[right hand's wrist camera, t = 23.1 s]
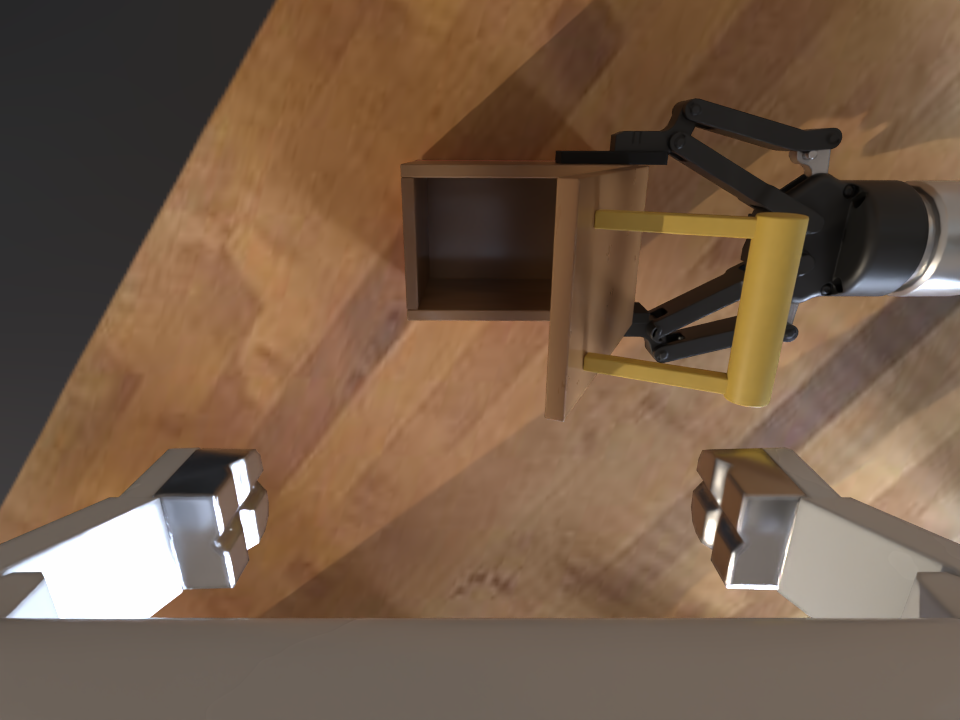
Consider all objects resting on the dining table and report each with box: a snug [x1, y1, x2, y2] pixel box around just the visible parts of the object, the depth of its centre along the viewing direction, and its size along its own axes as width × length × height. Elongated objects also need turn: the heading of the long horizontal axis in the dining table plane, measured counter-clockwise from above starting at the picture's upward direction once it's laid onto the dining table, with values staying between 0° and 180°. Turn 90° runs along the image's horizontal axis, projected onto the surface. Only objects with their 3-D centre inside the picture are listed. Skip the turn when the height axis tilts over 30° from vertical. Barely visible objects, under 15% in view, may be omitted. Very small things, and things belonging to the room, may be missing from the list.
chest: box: [401, 160, 638, 321], centre depth 38 cm, size 14×10×10 cm
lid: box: [545, 165, 809, 422], centre depth 26 cm, size 15×10×8 cm
